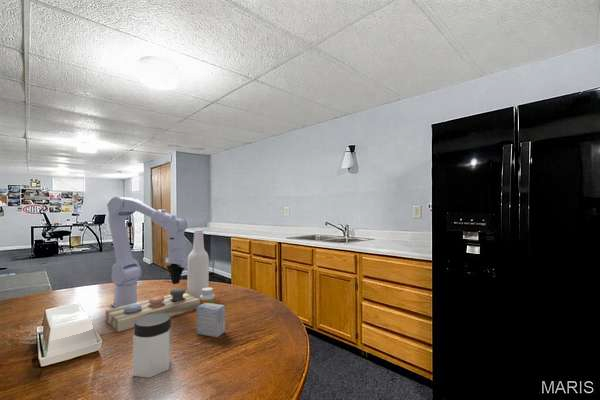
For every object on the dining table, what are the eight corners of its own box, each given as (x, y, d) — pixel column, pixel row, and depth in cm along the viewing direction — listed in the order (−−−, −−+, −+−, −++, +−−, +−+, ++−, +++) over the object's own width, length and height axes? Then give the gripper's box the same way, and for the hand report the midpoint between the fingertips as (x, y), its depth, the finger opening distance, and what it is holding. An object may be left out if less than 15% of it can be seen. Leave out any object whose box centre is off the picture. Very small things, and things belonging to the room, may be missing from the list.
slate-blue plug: (121, 320, 97) (121, 306, 97) (137, 316, 101) (138, 303, 101) (126, 324, 94) (127, 310, 94) (143, 319, 98) (143, 306, 98)
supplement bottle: (210, 318, 100) (210, 291, 100) (196, 317, 101) (196, 290, 101) (217, 313, 105) (217, 287, 105) (204, 311, 106) (204, 286, 106)
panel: (105, 320, 98) (105, 310, 98) (182, 299, 119) (182, 291, 119) (118, 331, 89) (118, 320, 89) (199, 307, 110) (199, 298, 110)
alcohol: (182, 299, 120) (183, 230, 121) (197, 293, 128) (198, 228, 129) (198, 302, 117) (199, 230, 117) (212, 295, 125) (213, 229, 125)
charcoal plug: (167, 302, 109) (168, 290, 109) (180, 299, 113) (181, 287, 113) (174, 305, 106) (174, 293, 106) (187, 302, 110) (187, 290, 110)
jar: (163, 354, 75) (164, 310, 76) (177, 366, 70) (178, 318, 70) (126, 369, 68) (127, 320, 69) (139, 383, 63) (140, 330, 63)
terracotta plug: (146, 311, 103) (146, 298, 103) (160, 307, 107) (160, 295, 107) (151, 314, 100) (152, 301, 100) (166, 310, 104) (166, 297, 104)
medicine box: (225, 332, 89) (225, 304, 89) (217, 338, 85) (217, 309, 85) (205, 328, 92) (205, 302, 92) (196, 334, 87) (196, 306, 88)
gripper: (157, 248, 111) (157, 282, 111) (174, 251, 102) (174, 289, 101) (175, 246, 116) (174, 278, 116) (192, 249, 107) (192, 285, 107)
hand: (175, 283), depth 109 cm, fingers closed
